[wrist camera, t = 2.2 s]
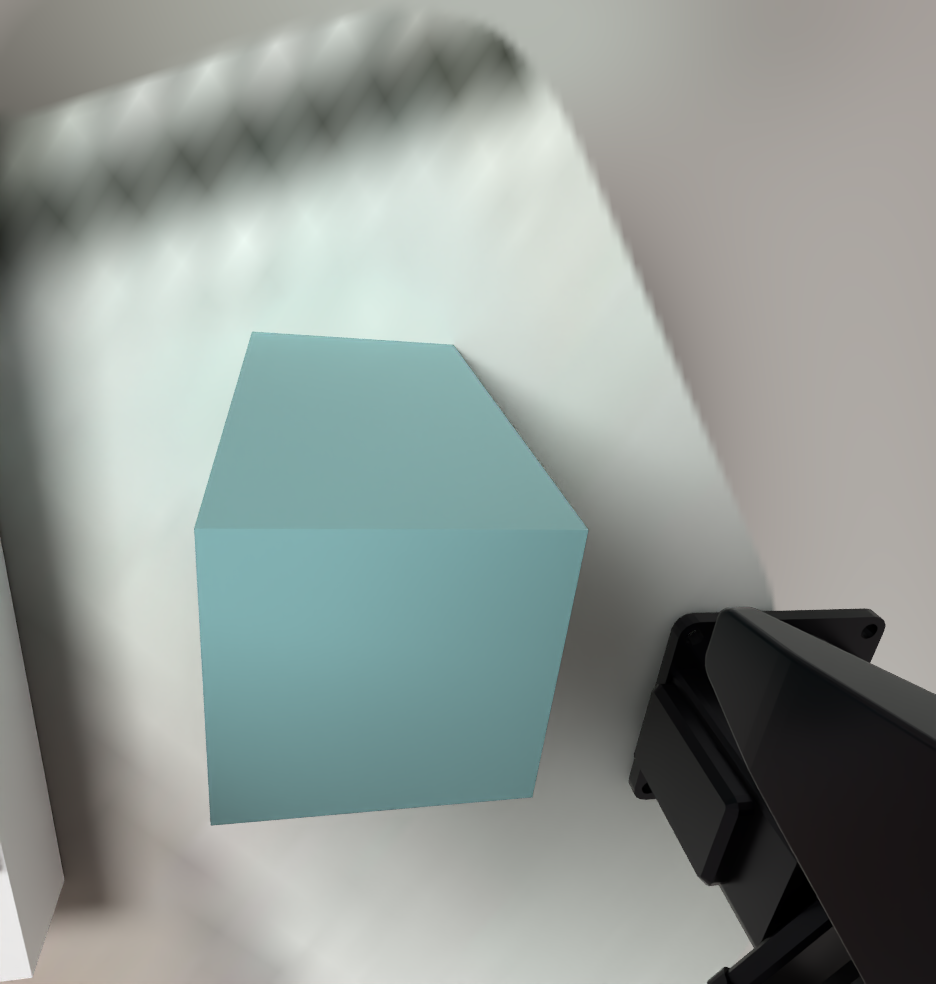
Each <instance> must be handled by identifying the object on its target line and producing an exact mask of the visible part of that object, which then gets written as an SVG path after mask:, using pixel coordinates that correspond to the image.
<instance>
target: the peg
mask: <svg viewBox="0 0 936 984" xmlns="http://www.w3.org/2000/svg"><path fill="white" fill-rule="evenodd" d="M194 533H195V551H196V569H197V587H198V605H199V623H200V641H201V659H202V677H203V695H204V713H205V731H206V749H207V767H208V785H209V803H210V821H211V825H223V824H234V823H245V822H257V821H268V820H279V819H291V818H302V817H314V816H325V815H336V814H348V813H359V812H370V811H382V810H393V809H405V808H416V807H427V806H439V805H450V804H461V803H473V802H484V801H496V800H507V799H518V798H530V797H532V796H533V791H534V787H535V782H536V777H537V772H538V768H539V763H540V758H541V753H542V749H543V744H544V739H545V734H546V730H547V725H548V720H549V715H550V711H551V706H552V701H553V696H554V692H555V687H556V682H557V677H558V673H559V668H560V663H561V658H562V654H563V649H564V644H565V639H566V635H567V630H568V625H569V620H570V616H571V611H572V606H573V601H574V597H575V592H576V587H577V582H578V578H579V573H580V568H581V563H582V559H583V554H584V549H585V544H586V540H587V535H588V529H587V527H586V526H585V524H584V523H583V522H582V520H581V519H580V518H579V516H578V515H577V514H576V512H575V511H574V509H573V508H572V507H571V505H570V504H569V503H568V501H567V500H566V498H565V497H564V496H563V494H562V493H561V492H560V490H559V489H558V488H557V486H556V485H555V483H554V482H553V481H552V479H551V478H550V477H549V475H548V474H547V472H546V471H545V470H544V468H543V467H542V466H541V464H540V463H539V462H538V460H537V459H536V457H535V456H534V455H533V453H532V452H531V451H530V449H529V448H528V446H527V445H526V444H525V442H524V441H523V440H522V438H521V437H520V436H519V434H518V433H517V431H516V430H515V429H514V427H513V426H512V425H511V423H510V422H509V420H508V419H507V418H506V416H505V415H504V414H503V412H502V411H501V410H500V408H499V407H498V405H497V404H496V403H495V401H494V400H493V399H492V397H491V396H490V394H489V393H488V392H487V390H486V389H485V388H484V386H483V385H482V384H481V382H480V381H479V379H478V378H477V377H476V375H475V374H474V373H473V371H472V370H471V368H470V367H469V366H468V364H467V363H466V362H465V360H464V359H463V358H462V356H461V355H460V353H459V352H458V351H457V349H456V348H455V347H454V345H447V344H432V343H416V342H401V341H386V340H370V339H355V338H340V337H324V336H309V335H294V334H278V333H263V332H252V334H251V338H250V341H249V344H248V348H247V351H246V354H245V358H244V361H243V365H242V368H241V371H240V375H239V378H238V382H237V385H236V388H235V392H234V395H233V399H232V402H231V405H230V409H229V412H228V416H227V419H226V422H225V426H224V429H223V433H222V436H221V439H220V443H219V446H218V450H217V453H216V456H215V460H214V463H213V467H212V470H211V473H210V477H209V480H208V484H207V487H206V490H205V494H204V497H203V501H202V504H201V507H200V511H199V514H198V517H197V521H196V524H195V528H194Z"/></svg>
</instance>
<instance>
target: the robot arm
mask: <svg viewBox="0 0 936 984" xmlns="http://www.w3.org/2000/svg"><path fill="white" fill-rule="evenodd" d="M884 629H885V622H884V620H883V619H881V617H879V616H878V615H877V614H876V613H874V612H873V611H872V610H870V609H833V610H795V611H759V610H757V609H755V608H751V607H731V608H725V609H723V610H722V611H721V612H719V613H691V614H686V615H684V616H683V617H681V618H679V619H678V620H677V621H676V622H675V623H674V625H673V627H672V629H671V633H670V636H669V640H668V643H667V647H666V650H665V654H664V657H663V661H662V664H661V668H660V671H659V675H658V678H657V682H656V685H655V688H654V690H653V691H652V693H651V697H650V700H649V704H648V707H647V711H646V714H645V718H644V721H643V725H642V729H641V732H640V736H639V739H638V743H637V746H636V750H635V753H634V758H635V759H634V763H633V766H632V770H631V773H630V777H629V784H630V786H631V788H632V790H633V792H634V794H635V796H636V797H637V798H639V799H644V800H647V799H657V801H658V803H659V805H660V807H661V809H662V810H663V812H664V814H665V816H666V818H667V820H668V822H669V824H670V825H671V827H672V829H673V831H674V833H675V835H676V837H677V838H678V840H679V842H680V844H681V846H682V848H683V850H684V852H685V853H686V855H687V857H688V859H689V861H690V863H691V865H692V867H693V868H694V870H695V872H696V874H697V876H698V877H699V878H700V879H701V880H702V881H703V882H704V883H705V884H706V885H708V886H714V885H719V886H720V888H721V890H722V891H723V893H724V895H725V897H726V899H727V900H728V902H729V904H730V906H731V908H732V909H733V911H734V913H735V915H736V917H737V918H738V920H739V922H740V924H741V926H742V927H743V929H744V931H745V933H746V935H747V936H748V938H749V940H750V942H751V943H752V945H753V947H754V949H753V950H752V951H751V952H749V953H748V954H747V955H746V956H744V957H743V958H742V959H741V960H740V961H738V962H737V963H736V964H735V965H734V966H732V967H731V968H728V967H724V968H722V969H721V970H720V971H719V972H718V973H716V974H715V975H714V976H713V977H712V978H710V979H709V980H708V982H707V984H936V694H934V693H931V692H929V691H927V690H925V689H923V688H921V687H919V686H917V685H915V684H912V683H911V682H908V681H906V680H904V679H902V678H900V677H898V676H896V675H894V674H892V673H890V672H887V671H885V670H883V669H881V668H879V667H877V666H875V665H873V664H871V663H870V662H871V660H872V657H873V655H874V653H875V650H876V648H877V646H878V643H879V641H880V639H881V637H882V635H883V632H884ZM694 630H696V631H695V632H694V633H693V634H691V635H689V633H691V632H692V631H694ZM688 635H689V636H688Z"/></svg>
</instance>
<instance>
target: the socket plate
mask: <svg viewBox="0 0 936 984" xmlns="http://www.w3.org/2000/svg"><path fill="white" fill-rule="evenodd" d="M63 883H64V875H63V870H62V864H61V859H60V854H59V848H58V843H57V838H56V832H55V827H54V822H53V816H52V811H51V806H50V800H49V795H48V790H47V784H46V779H45V773H44V768H43V763H42V757H41V752H40V747H39V741H38V736H37V731H36V725H35V720H34V715H33V709H32V704H31V699H30V693H29V688H28V683H27V677H26V672H25V667H24V661H23V656H22V651H21V645H20V640H19V635H18V629H17V624H16V619H15V613H14V608H13V603H12V597H11V592H10V587H9V581H8V576H7V571H6V565H5V560H4V555H3V549H2V544H1V539H0V982H1V981H9V980H17V979H25V978H32V977H33V974H34V971H35V968H36V965H37V962H38V959H39V956H40V953H41V950H42V947H43V944H44V941H45V938H46V935H47V932H48V929H49V926H50V923H51V920H52V917H53V913H54V910H55V907H56V904H57V901H58V898H59V895H60V892H61V889H62V886H63Z"/></svg>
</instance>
